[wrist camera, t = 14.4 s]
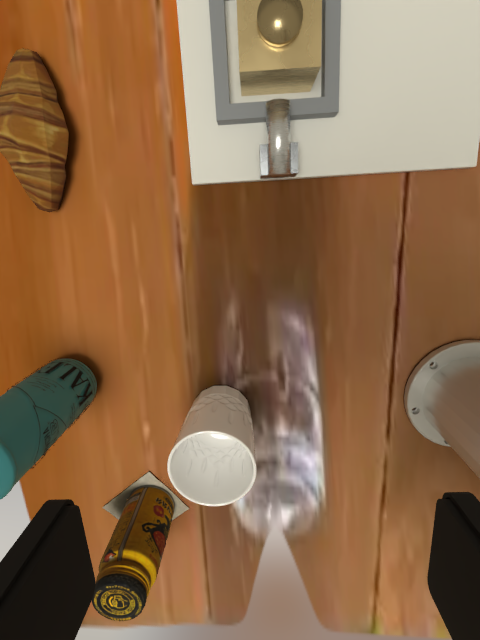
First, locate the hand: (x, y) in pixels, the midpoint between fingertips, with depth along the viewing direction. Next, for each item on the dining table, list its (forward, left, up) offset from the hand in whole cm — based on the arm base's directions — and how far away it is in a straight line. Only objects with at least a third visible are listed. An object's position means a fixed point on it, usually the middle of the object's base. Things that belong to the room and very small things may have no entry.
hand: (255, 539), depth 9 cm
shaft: (+8, -12, -28) cm, 32 cm away
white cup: (-6, +12, -28) cm, 31 cm away
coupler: (+14, -17, -27) cm, 35 cm away
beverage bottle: (+9, +20, -28) cm, 36 cm away
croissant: (+26, +2, -29) cm, 39 cm away
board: (+10, -21, -28) cm, 37 cm away
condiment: (-8, +29, -29) cm, 42 cm away
